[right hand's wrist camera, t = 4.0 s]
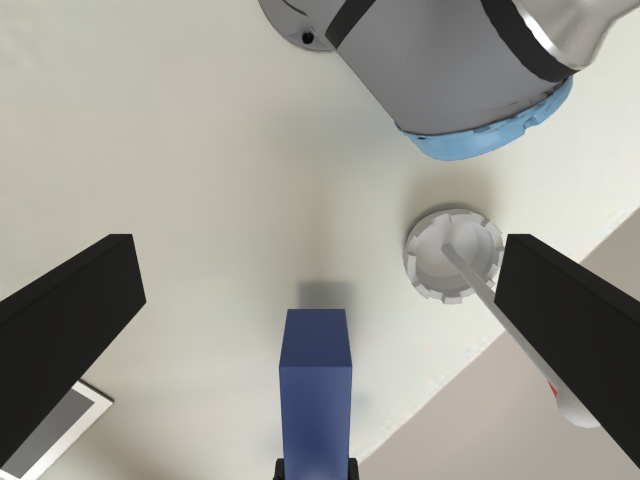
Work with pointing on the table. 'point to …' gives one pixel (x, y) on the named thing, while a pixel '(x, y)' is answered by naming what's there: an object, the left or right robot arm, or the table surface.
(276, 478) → the left robot arm
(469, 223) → the flag stand
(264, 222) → the table surface
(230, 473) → the table surface
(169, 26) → the table surface
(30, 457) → the tablet
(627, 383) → the right robot arm
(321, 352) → the box
